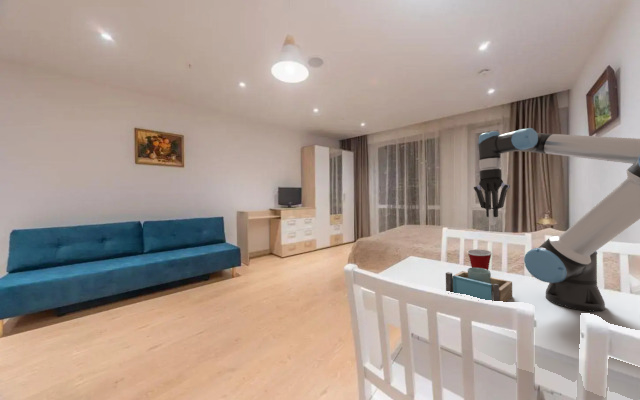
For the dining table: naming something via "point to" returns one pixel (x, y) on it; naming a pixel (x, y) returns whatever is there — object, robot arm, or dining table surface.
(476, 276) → the cup
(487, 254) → the plastic cup
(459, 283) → the blue flat rectangular panel
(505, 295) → the wooden u-shaped tray
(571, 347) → the dining table surface
